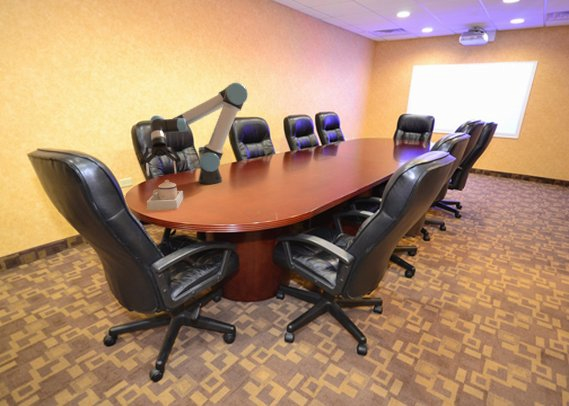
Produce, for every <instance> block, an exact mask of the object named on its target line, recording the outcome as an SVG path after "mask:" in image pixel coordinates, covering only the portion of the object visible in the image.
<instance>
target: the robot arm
mask: <svg viewBox="0 0 569 406" xmlns="http://www.w3.org/2000/svg"><path fill="white" fill-rule="evenodd" d="M247 99H248V90H247V88H246V87H245V85H244V84H242V83H240V82H233V83H231V84H229V85H227V86H226V87H225V88H223V90H221V91H219V92H218V94H217V95H215V96H213V97H211V98H210V99H208V100H206V101H204V102H202V103H200V104H198V105H196V106H194V107H193V108H190V109H189V110H186V111H185V112H182V113H181V114H179V115H177V116H174V117H172V118H169V119H167V118H166V119H165V118H164V117H163V116H161V115H153V116H152V117H151V118H150V124H149V125H150V138H151V148H149V147H145V152H144V153H143V154H142V157H141V159H140V160H139V163H140V166H143V169H144V171H146V175H147V177H150V168H149V167H150V166H149V163H151V162H152V160H154V158H156V156H157V157H163V156H165V157H167V158H169V159H170V160H171V161H172V162H173V168H174V174H175V175H177V168H179V165H178V163H181V162H182V160H181V159H182V158H181V157H180V156H179V154H178V153H177V152H176V151H175V149H174V147H173V146H172V145H171V146H169V147H168V143H167V135H166V134H171V133H183V132H187V131H188V126H191V125H192V124H193V123H196V122H198V121H199V120H201V119H204V118H205V117H207V116H208V115H211V114H212V113H214V112H216V111H218V110H220V109H221V110H220V113H219V115H218V118H217V121H216V124H215V125H214V129H213V131H212V133H211V136H210V138H209V141H208V143H207V144H205V145H204V146H200V147H198V158H199V168H200V171H199V175H198V183H200V184H202V185H214V184H219V183H221V182H223V178H222V175H221V172H220V170H219V167H220V165H221V159H222V158H223V155H224V151H223V148H224V145H225V143H226V140H227V138H228V135H229V133H230V131H231V128H232V125H233V123H234V121H235V119H236V115H237V113H238V112H240V111H241V110H242V108H243V105H244V103H245V102H247ZM171 153H172V154H171Z"/></svg>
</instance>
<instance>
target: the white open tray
mask: <svg viewBox="0 0 569 406" xmlns="http://www.w3.org/2000/svg"><path fill="white" fill-rule="evenodd" d="M154 195H155V196H156V197H160V196H159V191H155V192H154ZM183 200H184V191H183V190H177V197H176V198H175V200H160V199H156V198H154V196H153V194H152V195H151V196H150V198H149V199H147V201H146V206H147V211H157V210H158V211H161V210H162V211H163V210H178V209H179V207H180V205H181V204H182V202H183Z"/></svg>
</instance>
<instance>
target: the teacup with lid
mask: <svg viewBox="0 0 569 406" xmlns="http://www.w3.org/2000/svg"><path fill="white" fill-rule="evenodd" d="M177 186H178V185H177V184H176V183H175V182H172V181H170V180H169V179H165V180H164V182H162V183H161V184H159V185H158V186H157V189H154V190H153V191H152V195H153V196H154V198H156V199H160V200H175V198H176V197H177V191H178V188H177ZM155 192H159V196H160V197H156V196H155V195H154V193H155Z"/></svg>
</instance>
